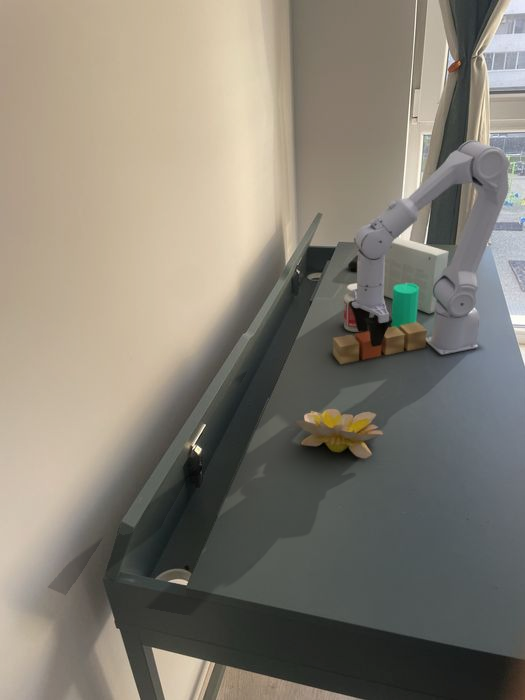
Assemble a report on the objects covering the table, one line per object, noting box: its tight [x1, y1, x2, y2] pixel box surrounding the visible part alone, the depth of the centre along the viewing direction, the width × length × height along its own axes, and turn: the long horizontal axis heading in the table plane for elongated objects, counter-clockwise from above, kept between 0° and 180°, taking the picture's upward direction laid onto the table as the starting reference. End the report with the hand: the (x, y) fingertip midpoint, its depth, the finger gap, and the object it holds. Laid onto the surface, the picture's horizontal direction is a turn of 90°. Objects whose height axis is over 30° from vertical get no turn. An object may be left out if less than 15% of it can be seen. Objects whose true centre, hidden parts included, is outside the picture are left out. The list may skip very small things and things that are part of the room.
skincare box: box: [384, 236, 449, 315], centre depth 141 cm, size 21×5×16 cm, turn 34°
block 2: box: [381, 326, 405, 356], centre depth 122 cm, size 4×4×4 cm
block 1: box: [332, 334, 360, 365], centre depth 120 cm, size 4×4×4 cm
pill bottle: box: [343, 282, 362, 333], centre depth 131 cm, size 6×6×11 cm
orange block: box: [354, 330, 382, 361], centre depth 121 cm, size 4×4×4 cm
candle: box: [390, 282, 419, 329], centre depth 129 cm, size 6×6×12 cm
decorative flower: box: [293, 408, 384, 459], centre depth 93 cm, size 15×11×10 cm
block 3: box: [399, 321, 428, 351], centre depth 123 cm, size 4×4×4 cm
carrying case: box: [347, 254, 358, 272], centre depth 166 cm, size 11×3×15 cm
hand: (369, 337), depth 120 cm, fingers open, 7 cm apart
